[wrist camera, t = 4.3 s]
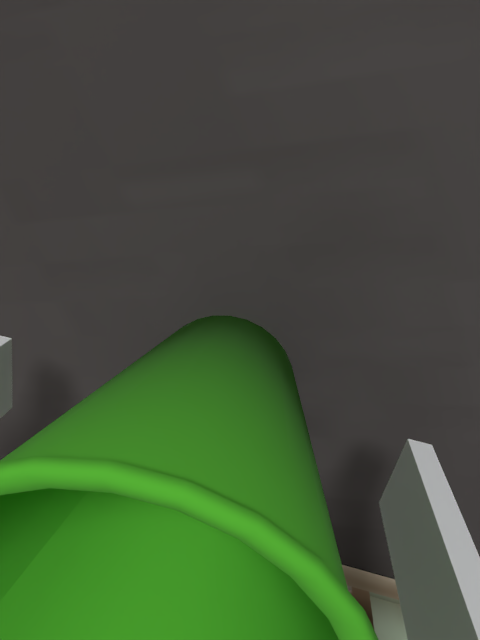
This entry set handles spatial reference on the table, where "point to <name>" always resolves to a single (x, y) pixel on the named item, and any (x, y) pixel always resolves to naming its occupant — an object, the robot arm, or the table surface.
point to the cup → (176, 506)
